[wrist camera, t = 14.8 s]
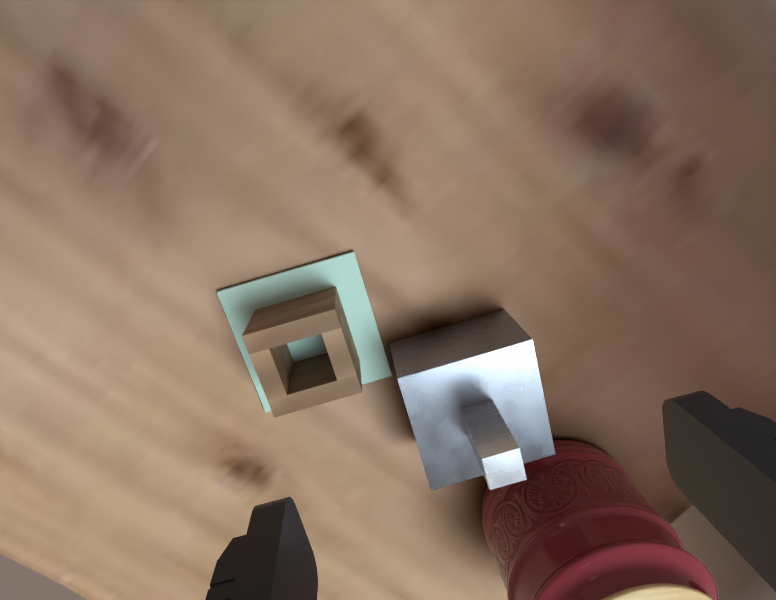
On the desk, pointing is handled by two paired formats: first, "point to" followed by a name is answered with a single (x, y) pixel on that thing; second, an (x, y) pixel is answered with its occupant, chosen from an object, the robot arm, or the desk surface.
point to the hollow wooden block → (309, 376)
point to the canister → (586, 535)
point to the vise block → (474, 400)
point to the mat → (299, 283)
